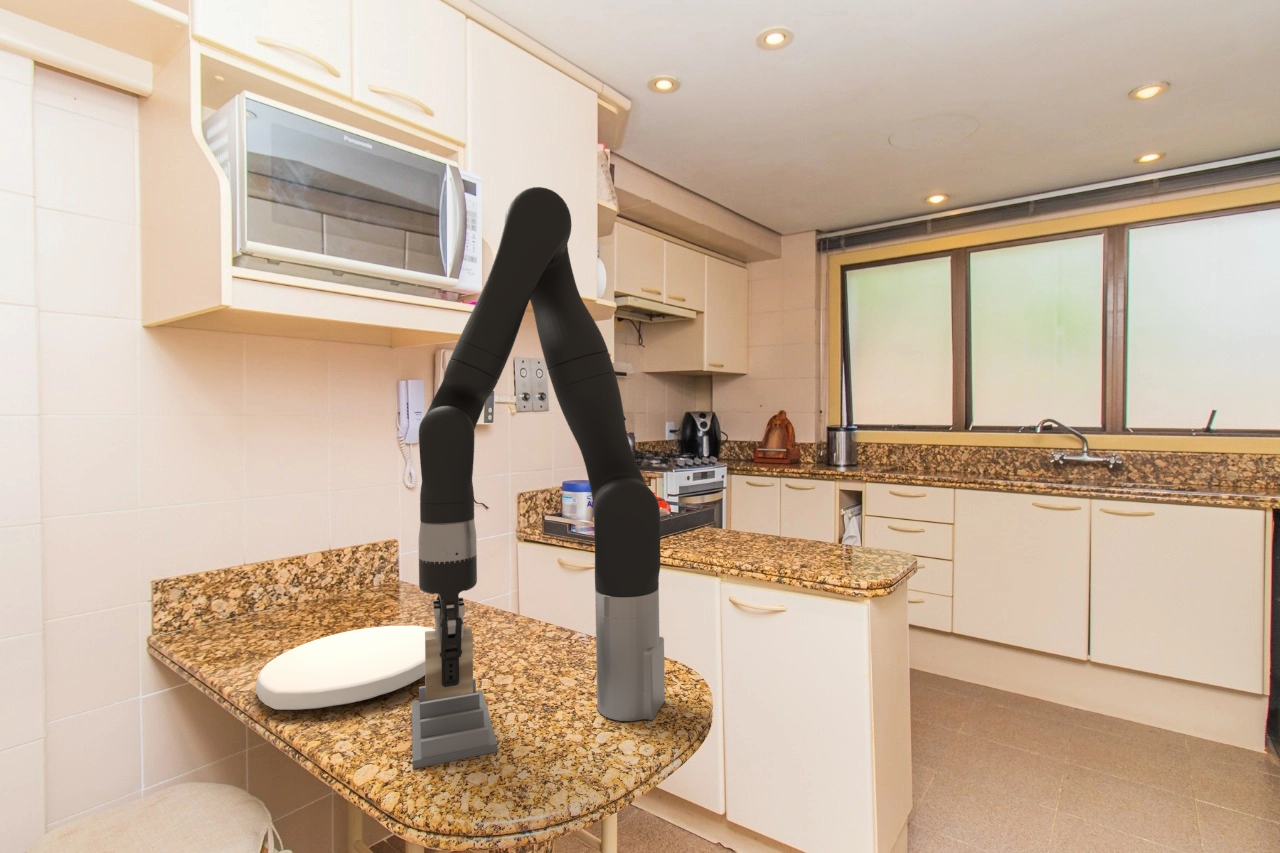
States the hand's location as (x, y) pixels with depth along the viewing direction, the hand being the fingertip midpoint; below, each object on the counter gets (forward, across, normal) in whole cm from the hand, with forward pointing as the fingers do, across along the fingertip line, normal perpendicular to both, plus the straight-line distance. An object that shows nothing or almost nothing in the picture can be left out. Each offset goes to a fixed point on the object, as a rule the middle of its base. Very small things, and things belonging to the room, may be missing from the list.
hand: (449, 678), depth 83 cm
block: (+2, 0, 0) cm, 2 cm away
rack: (+7, 0, 0) cm, 7 cm away
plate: (+7, +23, +13) cm, 27 cm away
